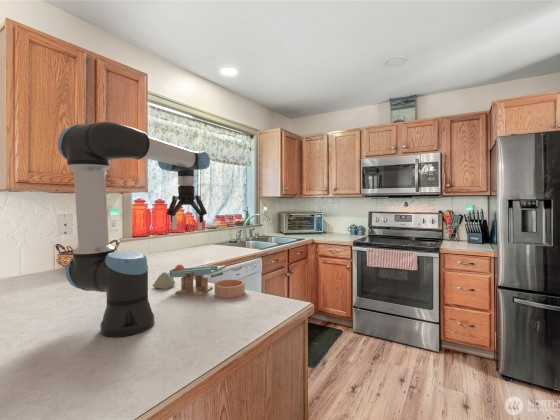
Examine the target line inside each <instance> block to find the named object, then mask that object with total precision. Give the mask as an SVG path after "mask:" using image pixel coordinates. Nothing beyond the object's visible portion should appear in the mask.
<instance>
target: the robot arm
mask: <svg viewBox="0 0 560 420" xmlns="http://www.w3.org/2000/svg"><path fill="white" fill-rule="evenodd" d="M57 148H58V152H59V153H60V155H62V157H63V158H64V159H65V160H66V164H67V167H68V168H69V169H70V170H71V171H72V172H73V180H74V196H75V213H76V230H77V247H76V248H75V249H73V251H72V258H71V259H70V260H69V262H68V263H67V264H66V267H65V278H66V279H67V281H68V283H69V284H70V285H71V286H72V287H74V288H76V289H79V290H82V291H86V292H89V291H90V292H99V293H100V292H101V293H106V294H105V295H106V307H105V310H104V313H103V317H102V321H101V322H100V334H101V335H102V336H104V337H108V338H120V337H121V338H122V337H128V336H132V335H136V334H139V333H142V332H145V331H147V330H149V329H150V328H152V326H153V325H154V324H155V314H154V312H153V311H152V308H151V303H150V302H149V283H148V282H149V265H148V259H147V257H146V255H145V254H143V253H142V252H137V251H131V250H130V251H127V250H125V251H124V250H121V251H120V250H119V251H118V250H117V251H115V247H114V245H111V244H110V241H109V222H108V220H109V219H108V202H107V184H106V181H107V180H106V172H107V171H108V170H110V169H111V162H110V160H117V159H119V160H120V159H133V160H137V161H138V160H142V159H147V160H150V161H155V162H157V165H158V167H159V169H161V170H162V171H163V170H164V171H166V172H173V173H174V172H176V173H177V185H178V186H177V193H178V195H172V198H171V202H170V205H169V207H168V209H167V211H166V215H169V216H170V222H171V230H177V229H178V228H177V227H178V226H177V225H178V223H177V221H178V220H177V219H178V218H177V215H176V214H178V212H179V210H180V209H181V208H182V207H183V206H185V205H187V206H189V205H190V206H191V207H192V208H193V210H194V211H195V212H196V214H198V215H197V216H196V217H197V218H196V219H197V230H198V231H200V230H202V229H203V225H202V224H203V223H204V216H206V215H207V214H208V212H207V210H206V208H205V206H204V204H203V201H202V198H201V197H202V196H201V195H199V194H197V195H195V186H194V185H195V171H198V170H200V171H202V170H206V169H208V168H209V167H210V165H211V161H210V160H211V159H210V155H209V153H207V152H206V151H194V150H191V149H186V148H184V147H181V146H178V145H175V144H173V143H169V142H166V141H163V140H159V139H158V138H153V137H151V136H149V135H148V134H147V133H146V132H145V131H142V130H139V129H137V128H134V127H131V126H127V125H124V124H120V123H116V122H112V121H100V122H99V121H98V122H93V123H92V122H91V123H86V124H85V123H84V124H75V125H73V126H69V127H67V128H65V129H64V130H62V131H61V133H60V134H59V136H58V139H57ZM195 201H196V202H195Z"/></svg>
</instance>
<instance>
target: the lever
mask: <svg viewBox="0 0 560 420" xmlns="http://www.w3.org/2000/svg"><path fill="white" fill-rule="evenodd" d="M226 265H227V264H226ZM226 265H225V264H224V265H217V264H216V265H206V266H205V265H204V266H195V267H184V270H183V271H175V267H174V268H171V269H169V275H170V277H171V278H173V279H175V278H182V277H185V273H186V272H191V273H193V277H196V276H198V275H203V276H208V275H209V276H210V275H213V274H214V273H217V272H220V271H222V270H223V269H227V266H226Z"/></svg>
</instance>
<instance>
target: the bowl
mask: <svg viewBox="0 0 560 420" xmlns="http://www.w3.org/2000/svg"><path fill="white" fill-rule="evenodd" d="M213 285H214V286H213V287H214V296H215V297H217V298H220V299H235V298H239V297H242V296H243V295H244V294H245V291H246V290H245V289H246V285H245V281H244V280H241V279H235V278H234V279H230V278H229V279H222V280H219V281H217V282H215V283H214V284H213Z"/></svg>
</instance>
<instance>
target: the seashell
mask: <svg viewBox="0 0 560 420" xmlns="http://www.w3.org/2000/svg"><path fill="white" fill-rule="evenodd" d="M175 284H176V281H175V278H171V277H170V273H168V272H162V273H160V274H159V276H158V277H157V278H156V280H155V281H154V283H153V284H152V287H153V288H157V289H170V288H172V287H174V286H175Z"/></svg>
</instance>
